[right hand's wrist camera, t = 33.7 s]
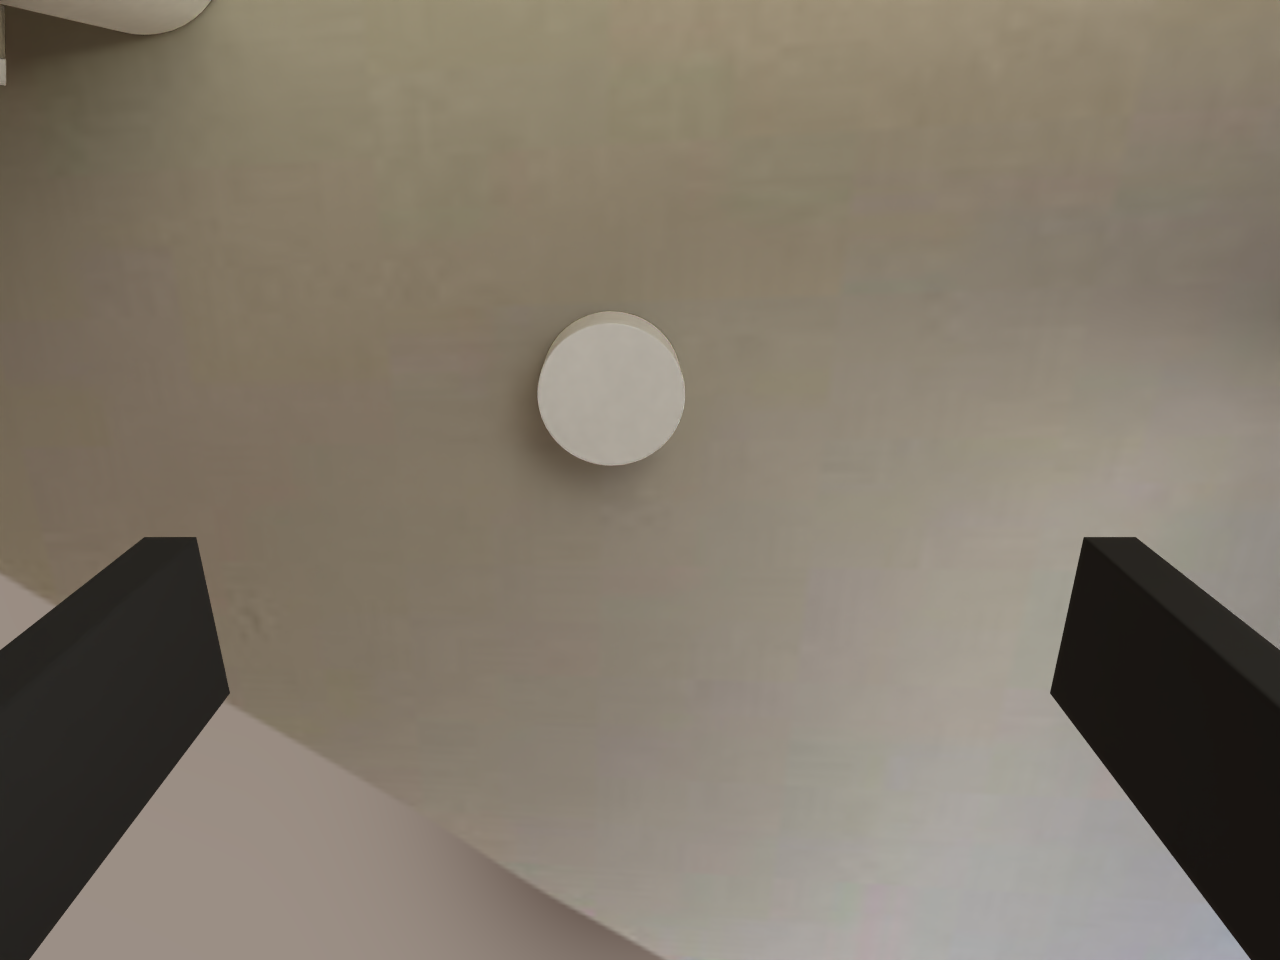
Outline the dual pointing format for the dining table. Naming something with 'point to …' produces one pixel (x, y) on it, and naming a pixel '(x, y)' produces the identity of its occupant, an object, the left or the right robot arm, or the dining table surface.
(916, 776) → the dining table surface
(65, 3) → the bottle
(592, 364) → the cap
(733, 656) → the dining table surface
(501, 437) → the dining table surface
